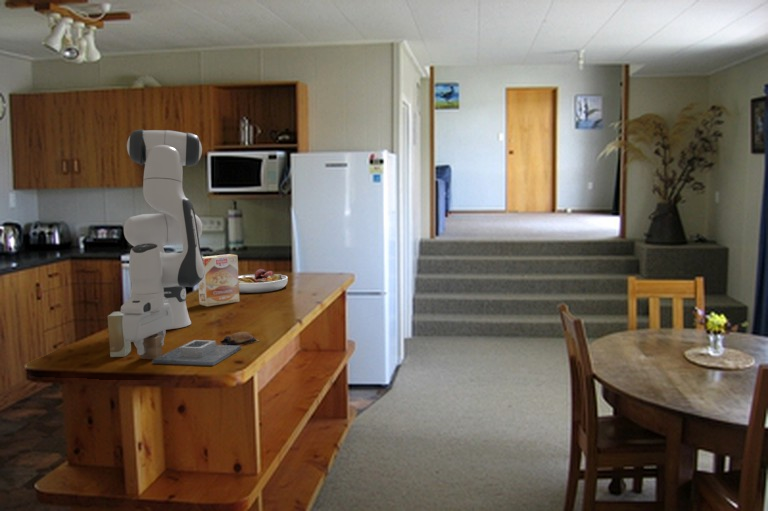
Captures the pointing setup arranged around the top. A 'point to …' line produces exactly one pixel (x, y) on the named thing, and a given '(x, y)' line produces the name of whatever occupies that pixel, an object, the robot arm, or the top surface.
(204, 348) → the metal duct collar
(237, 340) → the bread roll
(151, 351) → the walnut peg
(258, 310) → the top surface
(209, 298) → the coffeecake box
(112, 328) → the skincare box
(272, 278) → the bowl
